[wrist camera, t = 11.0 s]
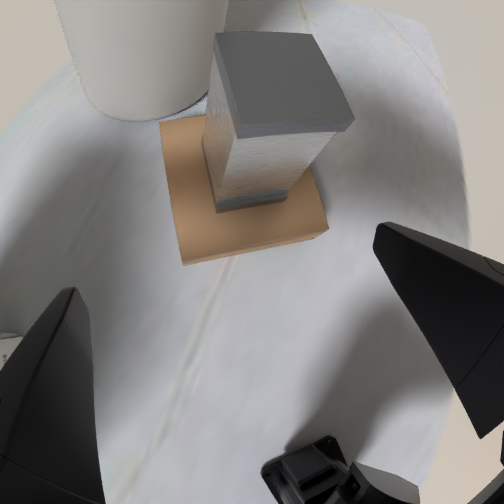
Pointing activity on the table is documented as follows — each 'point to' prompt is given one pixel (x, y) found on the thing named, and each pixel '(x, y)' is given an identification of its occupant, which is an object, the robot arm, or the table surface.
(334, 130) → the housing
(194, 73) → the cylinder vase
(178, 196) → the stand
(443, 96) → the table surface
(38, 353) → the robot arm
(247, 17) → the table surface
